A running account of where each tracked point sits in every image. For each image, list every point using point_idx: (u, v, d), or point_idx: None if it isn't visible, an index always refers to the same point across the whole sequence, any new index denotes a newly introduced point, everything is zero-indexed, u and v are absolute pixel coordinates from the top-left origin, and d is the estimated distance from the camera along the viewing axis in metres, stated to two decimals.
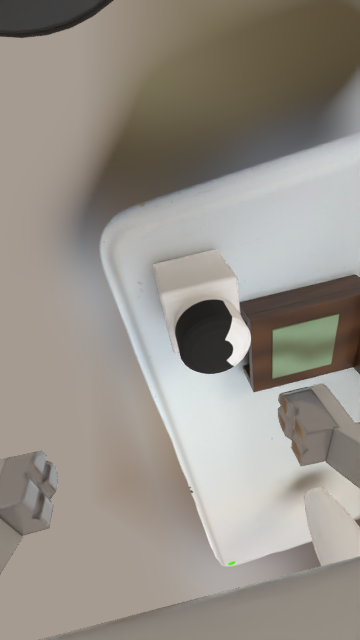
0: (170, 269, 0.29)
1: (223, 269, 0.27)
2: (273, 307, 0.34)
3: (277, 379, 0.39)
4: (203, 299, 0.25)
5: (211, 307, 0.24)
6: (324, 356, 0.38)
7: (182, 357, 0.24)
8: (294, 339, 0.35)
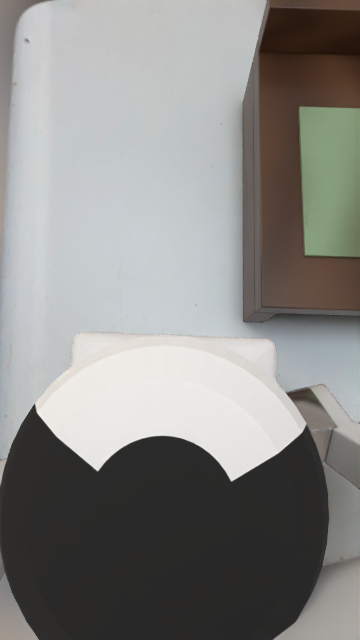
0: None
1: None
2: (253, 251, 0.15)
3: None
4: None
5: None
6: None
7: None
8: (348, 203, 0.14)
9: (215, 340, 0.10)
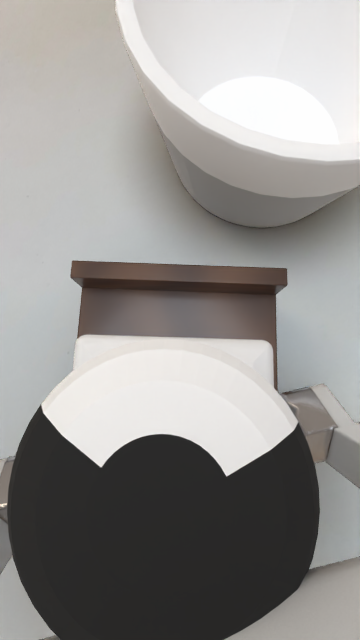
0: None
1: None
2: None
3: None
4: None
5: None
6: None
7: None
8: None
9: (213, 342, 0.10)
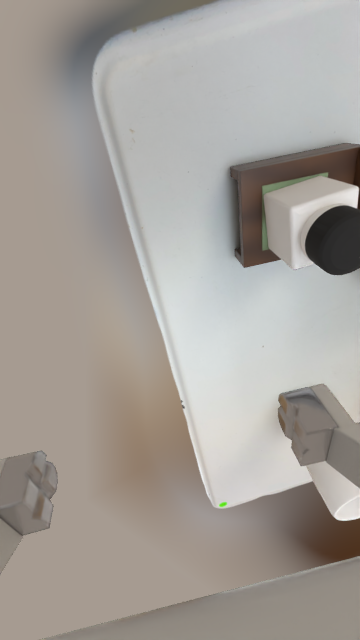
0: (285, 193, 0.33)
1: (341, 184, 0.30)
2: (263, 164, 0.34)
3: (267, 252, 0.39)
4: (333, 206, 0.28)
5: (346, 209, 0.27)
6: None
7: (320, 257, 0.28)
8: None
9: None
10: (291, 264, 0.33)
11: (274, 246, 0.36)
